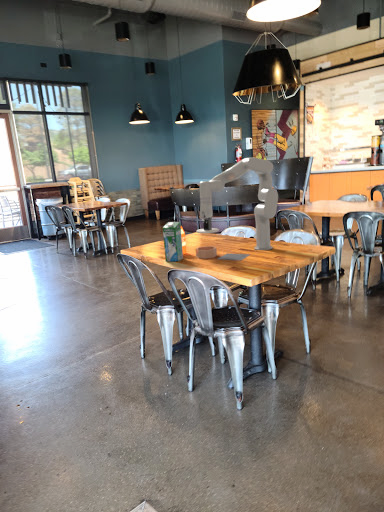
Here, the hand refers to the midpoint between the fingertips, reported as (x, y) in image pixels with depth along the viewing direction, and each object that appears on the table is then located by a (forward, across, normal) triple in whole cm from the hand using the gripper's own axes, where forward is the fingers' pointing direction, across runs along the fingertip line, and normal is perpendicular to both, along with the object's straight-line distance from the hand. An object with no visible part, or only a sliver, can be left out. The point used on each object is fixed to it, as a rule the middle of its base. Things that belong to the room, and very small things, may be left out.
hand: (207, 228), depth 253 cm
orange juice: (+20, -6, -27) cm, 34 cm away
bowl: (+20, 0, -2) cm, 20 cm away
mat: (+20, -2, +17) cm, 26 cm away
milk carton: (+20, +12, -20) cm, 31 cm away
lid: (+2, 0, 0) cm, 2 cm away
